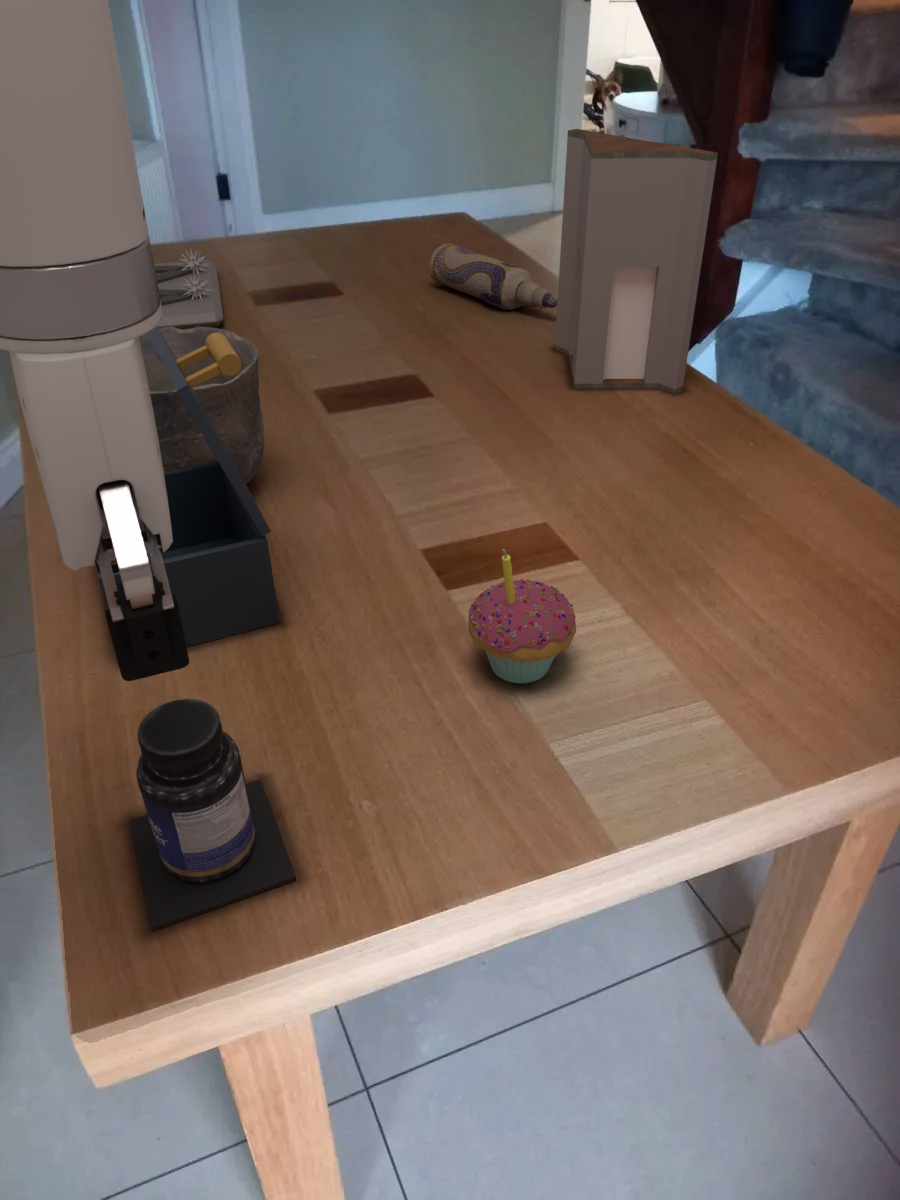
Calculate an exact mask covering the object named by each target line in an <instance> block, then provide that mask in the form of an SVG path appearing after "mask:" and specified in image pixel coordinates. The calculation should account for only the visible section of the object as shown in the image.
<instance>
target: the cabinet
mask: <svg viewBox="0 0 900 1200" xmlns="http://www.w3.org/2000/svg"><path fill="white" fill-rule="evenodd" d="M566 137H567V139H566V154H565V172H564V173H565V174H564V188H563V203H562V204H563V205H562V219H561V220H562V222H561V236H560V237H561V238H560V240H561V241H560V254H559V272H558V285H557V306H556V319H555V320H556V321H555V335H554V336H555V338H554V351H556V352H559V353H562V354H565V355H567V356H568V359H569V366H570V371H571V377H572V378H571V379H572V383H573V389H575V390H576V389H580V390H584V389H585V390H588V389H591V390H592V389H597V390H598V389H659V390H662V391H664V392H668V393H670V394H672V395H676V394H679V393H681V392H683V389H684V383H685V382H684V381H685V375H686V368H687V363H688V356H689V348H690V342H691V336H692V329H693V323H694V318H695V317H694V316H695V309H696V303H697V295H698V289H699V283H700V276H701V270H702V263H703V255H704V250H705V249H704V248H705V243H706V236H707V230H708V229H707V228H708V222H709V215H710V210H711V203H712V197H713V196H712V195H713V189H714V182H715V175H716V171H717V170H716V169H717V162H718V156H719V152H716V151H710V150H705V149H699V148H693V147H686V146H681V145H675V144H668V143H663V142H657V141H652V140H646V139H640V138H633V137H628V136H622V135H616V134H610V133H605V132H599V131H592V130H586V129H580V128H572V129H568V130H567V136H566Z"/></svg>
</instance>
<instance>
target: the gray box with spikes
mask: <svg viewBox="0 0 900 1200" xmlns="http://www.w3.org/2000/svg"><path fill="white" fill-rule="evenodd" d="M189 249H190V251H189V252H190V254H189V252H188V251H187V250H184V252H185V255H184V254H182V253H180V255H181V256H182V258H180V257H179V258H178V261H172V262H160V263H154V266H155V271H156V277H157V283H158V289H159V294H160V301H161V307H162V312H163V317H162V320H161V321H160V323H159V324H158V325H157V326H158V328H165V327H174V328H177V329H181V330H185V329H193V328H195V327H198V326H199V327H210V328H218V327H219V326H220V324H221V323H222V322H223V321H224V314H223V306H222V298H221V291H220V283H219V277H218V276H219V274H218V269H217V264H215V262H213V261H212V260H211V259H208V258H206V259H205V257H206V255H203V256H201V253H202V250H200V251H199V252H198V250H195V252H194V253H193V251H192V248H191V247H190V248H189ZM200 256H201V257H200Z"/></svg>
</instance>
